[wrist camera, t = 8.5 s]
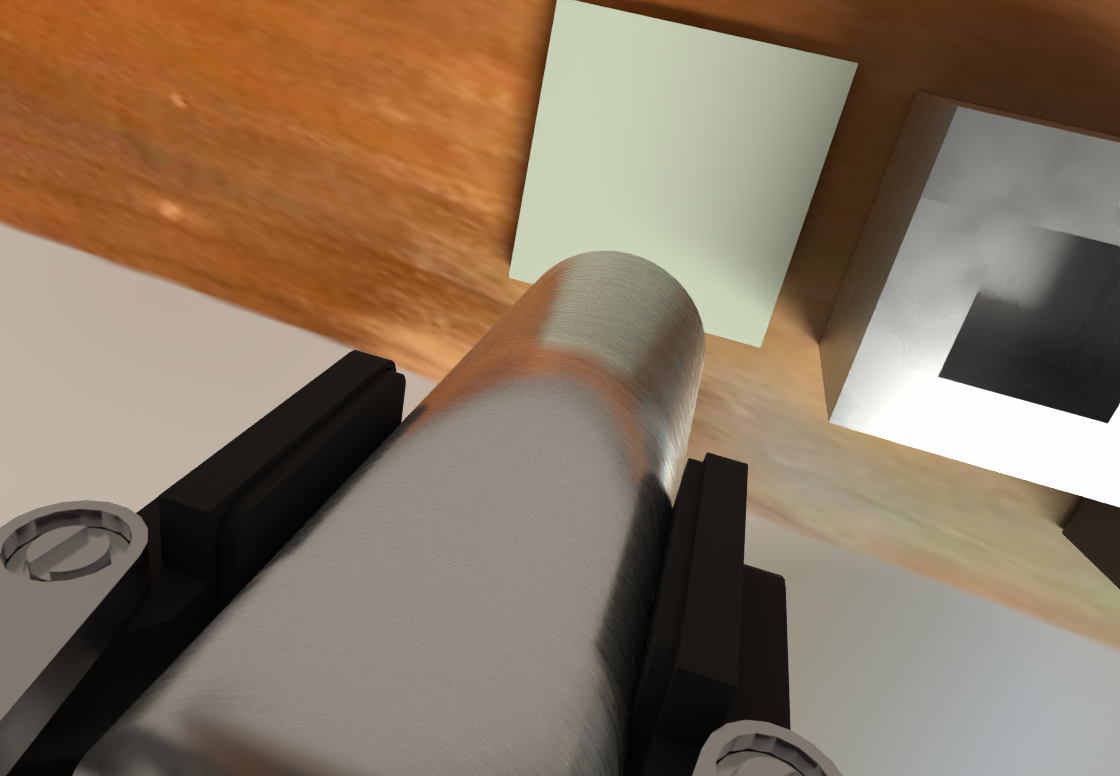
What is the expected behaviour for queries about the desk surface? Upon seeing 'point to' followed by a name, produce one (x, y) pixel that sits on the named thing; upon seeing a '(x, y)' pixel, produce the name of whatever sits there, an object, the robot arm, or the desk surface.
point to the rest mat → (678, 156)
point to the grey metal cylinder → (462, 566)
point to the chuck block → (988, 299)
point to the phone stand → (1097, 535)
